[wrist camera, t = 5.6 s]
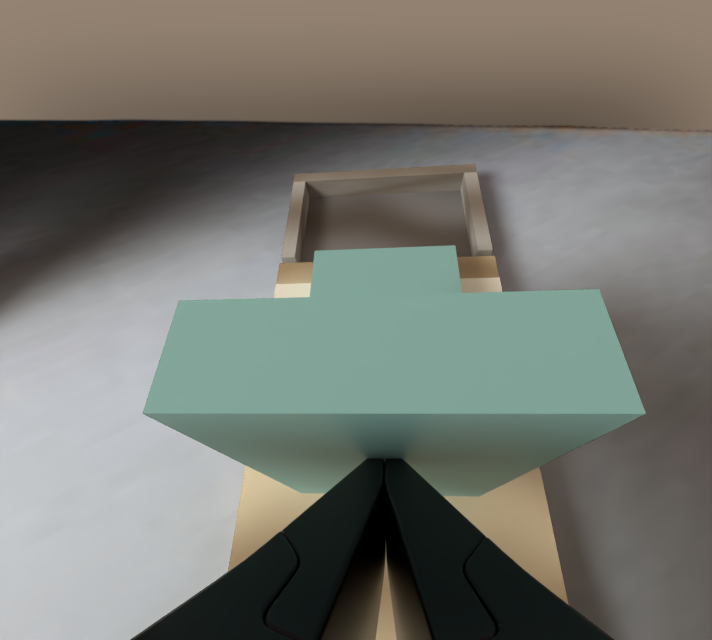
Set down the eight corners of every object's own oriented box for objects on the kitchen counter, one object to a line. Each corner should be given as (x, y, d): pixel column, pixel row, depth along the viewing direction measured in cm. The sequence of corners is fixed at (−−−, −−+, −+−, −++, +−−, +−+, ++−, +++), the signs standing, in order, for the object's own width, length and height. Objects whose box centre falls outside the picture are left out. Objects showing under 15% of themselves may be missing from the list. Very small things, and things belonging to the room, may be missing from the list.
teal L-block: (479, 496, 14) (645, 413, 5) (301, 493, 15) (142, 413, 5) (449, 270, 20) (501, 28, 10) (321, 274, 20) (259, 49, 11)
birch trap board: (711, 1467, 7) (809, 1756, 6) (135, 1332, 8) (66, 1541, 7) (470, 186, 26) (475, 161, 24) (300, 195, 27) (294, 171, 25)
